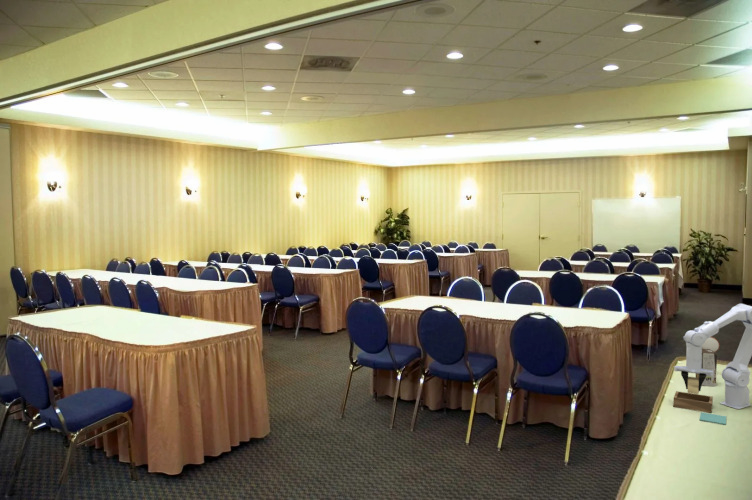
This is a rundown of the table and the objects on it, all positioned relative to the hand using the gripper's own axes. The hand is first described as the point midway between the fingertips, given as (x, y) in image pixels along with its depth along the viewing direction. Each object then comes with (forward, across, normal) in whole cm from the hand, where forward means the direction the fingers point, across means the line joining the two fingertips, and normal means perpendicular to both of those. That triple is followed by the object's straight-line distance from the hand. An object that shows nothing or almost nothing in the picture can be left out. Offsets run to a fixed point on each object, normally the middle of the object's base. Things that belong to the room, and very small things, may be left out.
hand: (693, 389), depth 235 cm
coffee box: (+8, +3, +38) cm, 39 cm away
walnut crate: (+8, 0, 0) cm, 8 cm away
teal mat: (+8, +8, -12) cm, 16 cm away
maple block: (+1, 0, 0) cm, 1 cm away
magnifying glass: (+8, +3, +54) cm, 54 cm away
